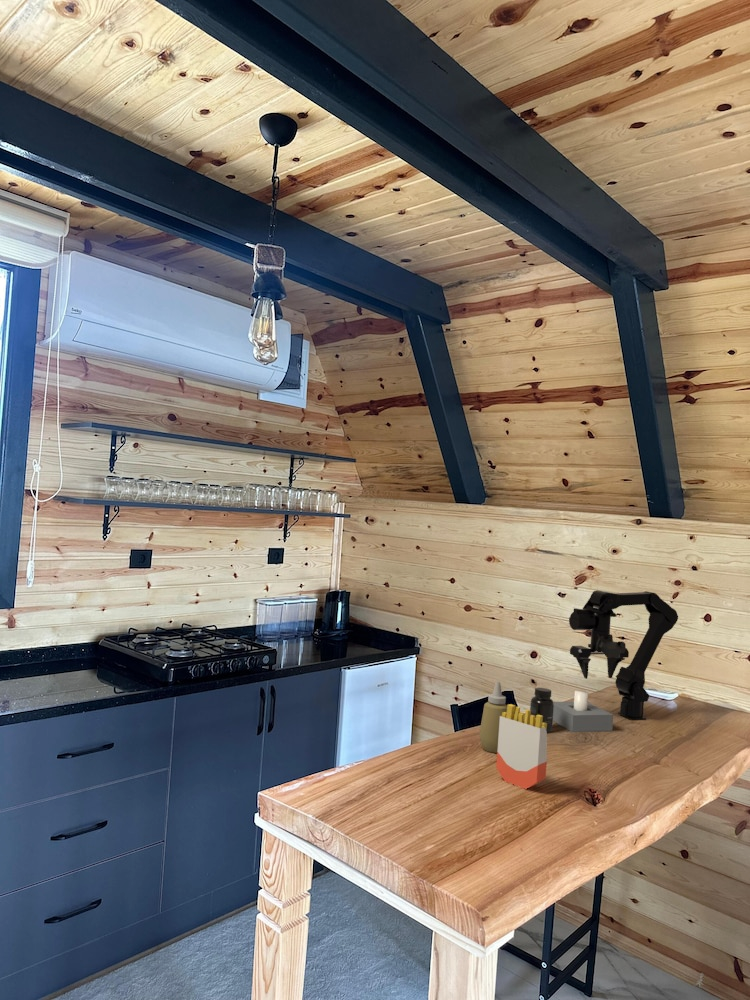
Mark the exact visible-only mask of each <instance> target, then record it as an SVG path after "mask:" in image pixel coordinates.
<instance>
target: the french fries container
mask: <svg viewBox="0 0 750 1000" xmlns="http://www.w3.org/2000/svg"><path fill="white" fill-rule="evenodd" d="M506 705H507V713H506V712H503V713H502V716H500V722H499V736H498V751H497V753H496V765H495V767H496V770H497V771H498V773H499V774H500V776H501V777H502V780H503V781H504V782H505V781H506V782H505V783H507V782H508V783H507V784H509V783H512V784H514V785H513V786H515V785H517V786H520V787H522V788H521V789H523V788H525V789H526V790H527V788H528V789H529V788H532V787H534V786H536V785H538V784H539V783H541V782H542V781H543V780H546V777H547V766H548V765H547V764H548V758H547V757H548V754H547V753H548V751H547V750H548V748H547V747H548V746H547V742H548V739H547V737H548V733H547V731H546V729H547V723H542V720H543V716H542V715H536V718H535V716H533V715H531V716H530V714H531V710H530V708H529V709H525V713H524V712H523V711H521V707H520V706H516V705H515V704H512V703H510V704H509V703H508V704H506ZM512 784H511V785H512ZM517 786H516V787H517ZM520 787H519V788H520ZM525 789H524V790H525Z"/></svg>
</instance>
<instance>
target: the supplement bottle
mask: <svg viewBox="0 0 750 1000" xmlns="http://www.w3.org/2000/svg"><path fill="white" fill-rule="evenodd" d="M551 698H552V690H551V689H549V688H546V687H535V688H534V696H533V697H531V699H530V703H529V704H530V705H529V706H530V707H529V710H531V714H530V716H531V715H533V716H535V718H536V715H542V716H543V720H542V723H547V729H546V731H547V734H548V733H551V732H552V730H553V722H554V721H553V710H554V702H555V701H553V699H551Z"/></svg>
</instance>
